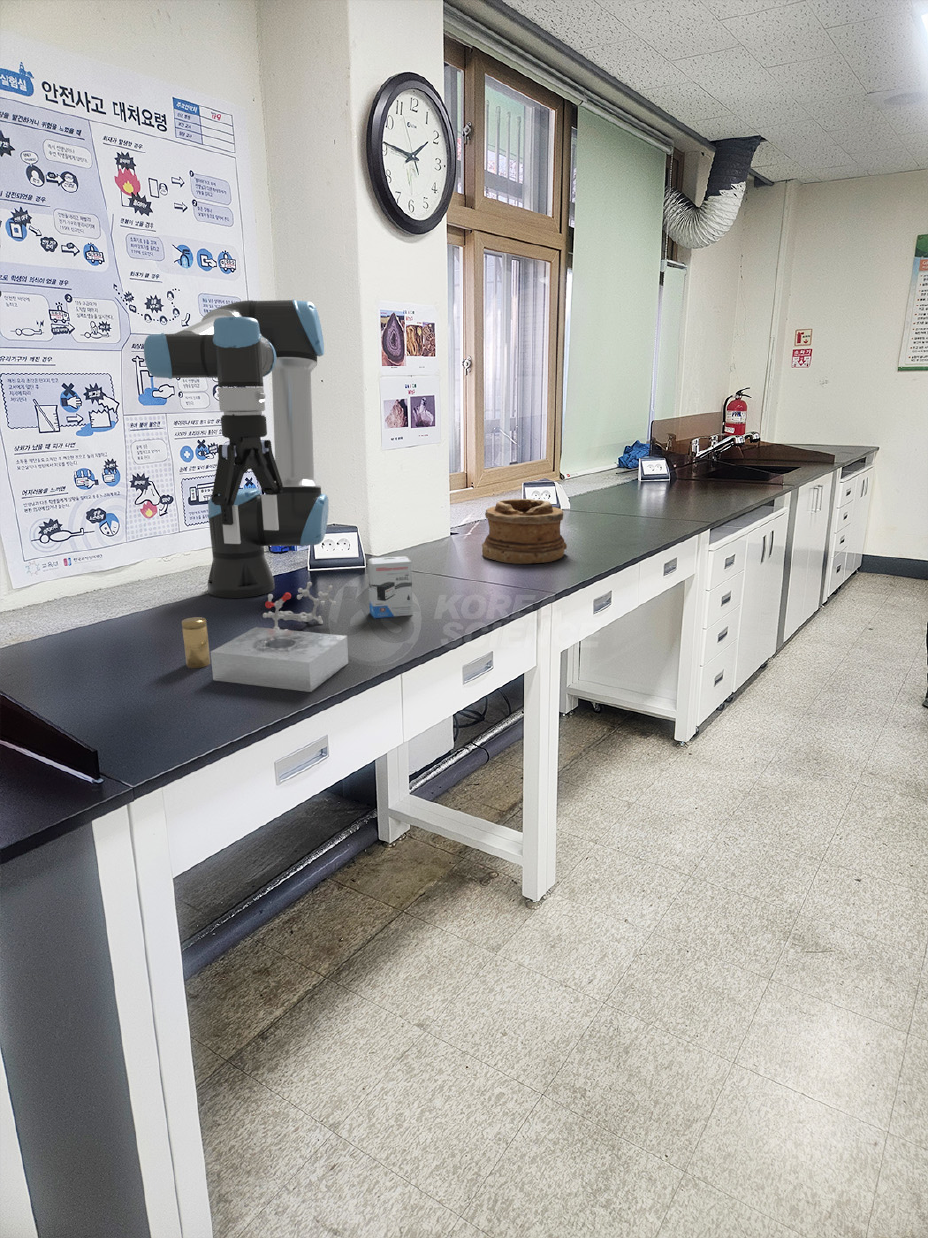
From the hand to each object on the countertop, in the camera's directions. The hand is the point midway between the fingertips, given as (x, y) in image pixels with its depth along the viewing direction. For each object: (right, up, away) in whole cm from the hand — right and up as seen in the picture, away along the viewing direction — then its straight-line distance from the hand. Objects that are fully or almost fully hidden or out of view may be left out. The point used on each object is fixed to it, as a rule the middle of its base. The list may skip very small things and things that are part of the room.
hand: (252, 536), depth 143 cm
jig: (+7, -24, -6) cm, 25 cm away
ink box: (+22, -14, +26) cm, 37 cm away
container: (+54, +3, +80) cm, 97 cm away
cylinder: (-9, -23, -2) cm, 24 cm away
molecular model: (+4, -17, +16) cm, 24 cm away
